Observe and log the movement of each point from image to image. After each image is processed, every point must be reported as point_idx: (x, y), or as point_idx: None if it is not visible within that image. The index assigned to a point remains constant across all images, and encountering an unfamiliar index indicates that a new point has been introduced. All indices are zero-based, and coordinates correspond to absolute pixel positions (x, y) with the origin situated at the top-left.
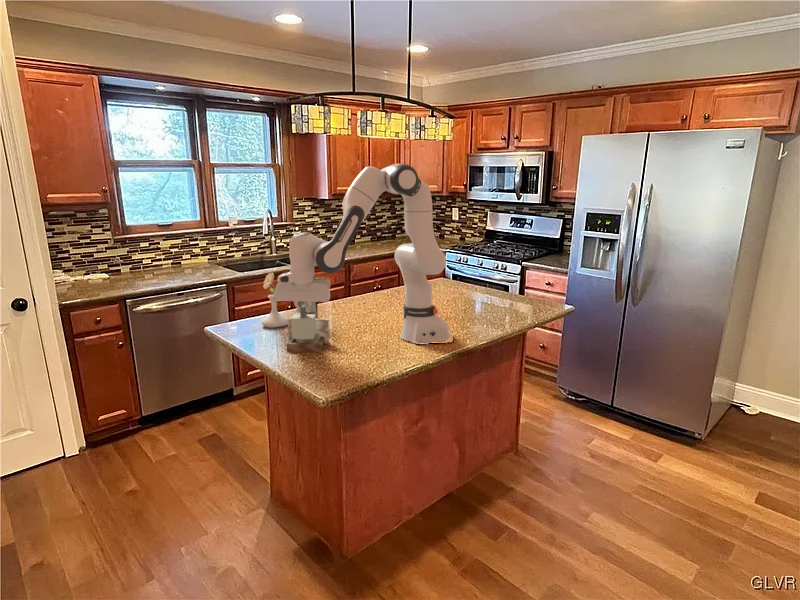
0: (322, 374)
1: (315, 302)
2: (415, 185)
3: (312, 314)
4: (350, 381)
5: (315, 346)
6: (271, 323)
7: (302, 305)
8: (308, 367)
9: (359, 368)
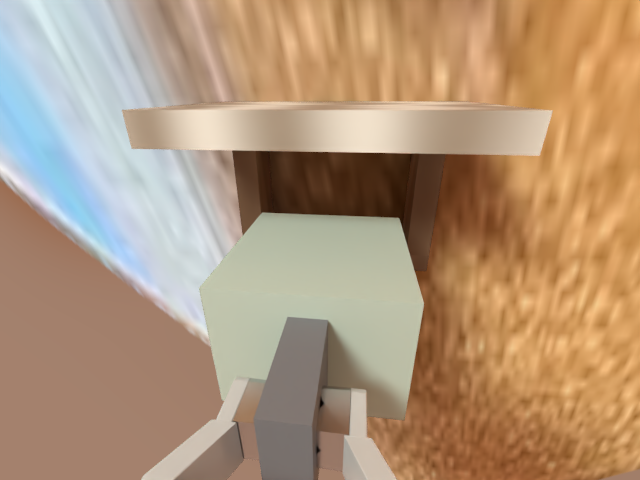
0: (432, 429)
1: None
2: None
3: (389, 303)
4: (520, 471)
5: None
6: None
7: (265, 443)
8: None
9: (575, 405)
